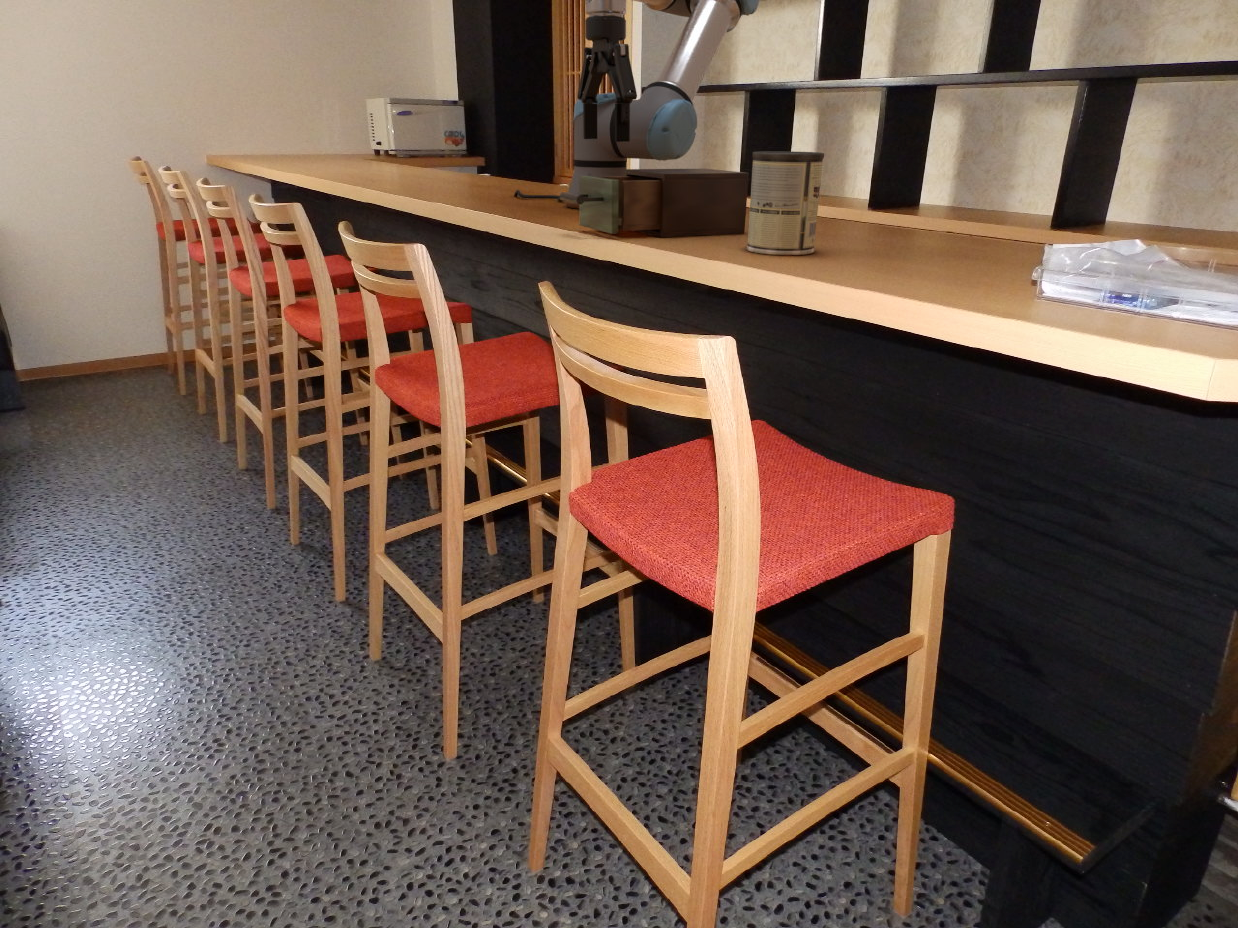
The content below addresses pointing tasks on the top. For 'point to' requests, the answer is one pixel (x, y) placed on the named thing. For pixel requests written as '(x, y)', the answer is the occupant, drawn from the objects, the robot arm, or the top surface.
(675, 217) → the cabinet
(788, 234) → the coffee can
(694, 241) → the top surface
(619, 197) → the drawer
